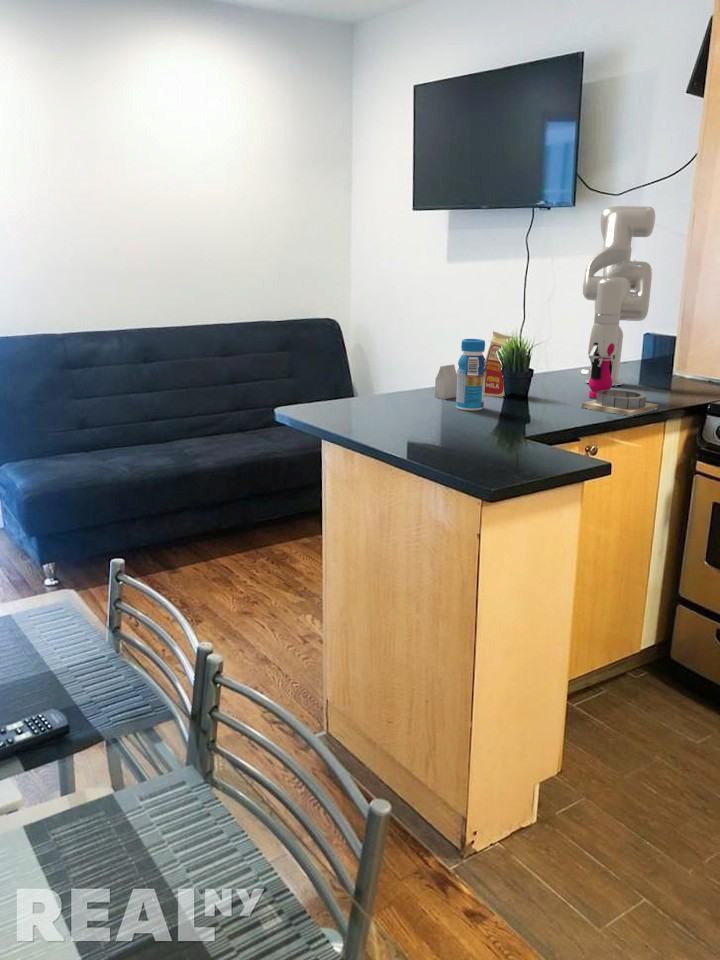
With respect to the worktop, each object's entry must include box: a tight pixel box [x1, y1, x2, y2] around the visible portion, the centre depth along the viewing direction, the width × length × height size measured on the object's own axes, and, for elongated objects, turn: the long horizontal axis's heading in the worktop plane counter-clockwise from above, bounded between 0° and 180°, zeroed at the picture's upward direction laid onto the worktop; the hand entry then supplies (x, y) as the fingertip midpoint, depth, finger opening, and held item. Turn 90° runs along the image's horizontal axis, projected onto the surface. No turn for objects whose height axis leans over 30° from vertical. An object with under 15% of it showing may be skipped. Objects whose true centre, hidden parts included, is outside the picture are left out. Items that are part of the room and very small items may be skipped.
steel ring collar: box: [595, 389, 647, 409], centre depth 242 cm, size 14×14×3 cm
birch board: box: [581, 399, 659, 416], centre depth 243 cm, size 16×16×2 cm
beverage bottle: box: [455, 338, 486, 412], centre depth 237 cm, size 8×8×20 cm
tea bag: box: [434, 364, 457, 400], centre depth 255 cm, size 4×7×10 cm, turn 137°
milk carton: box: [484, 330, 516, 398], centre depth 260 cm, size 9×9×20 cm
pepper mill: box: [588, 343, 614, 399], centre depth 256 cm, size 7×7×20 cm
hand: (600, 377), depth 257 cm, fingers closed on pepper mill, 5 cm apart
